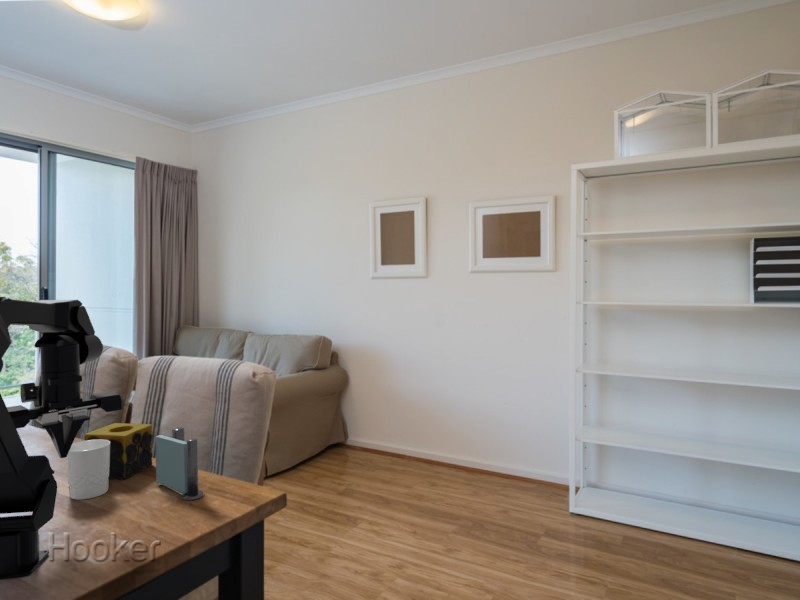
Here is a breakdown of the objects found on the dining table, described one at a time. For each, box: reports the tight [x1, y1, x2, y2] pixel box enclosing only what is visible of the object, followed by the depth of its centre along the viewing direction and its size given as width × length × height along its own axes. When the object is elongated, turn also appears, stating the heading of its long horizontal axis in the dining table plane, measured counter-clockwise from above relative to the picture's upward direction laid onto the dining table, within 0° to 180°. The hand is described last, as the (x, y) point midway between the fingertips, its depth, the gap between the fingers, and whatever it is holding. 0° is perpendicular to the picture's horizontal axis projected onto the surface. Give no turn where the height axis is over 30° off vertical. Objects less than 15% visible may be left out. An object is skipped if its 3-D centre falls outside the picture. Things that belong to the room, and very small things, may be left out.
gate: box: [155, 434, 188, 493], centre depth 104 cm, size 10×1×10 cm, turn 57°
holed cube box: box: [83, 422, 153, 481], centre depth 115 cm, size 10×10×10 cm
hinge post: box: [181, 438, 204, 502], centre depth 101 cm, size 4×4×12 cm
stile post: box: [171, 426, 185, 441], centre depth 109 cm, size 3×3×12 cm
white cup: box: [65, 439, 110, 501], centre depth 103 cm, size 8×8×10 cm
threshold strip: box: [169, 488, 185, 495], centre depth 105 cm, size 10×2×1 cm, turn 50°
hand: (63, 457), depth 89 cm, fingers closed
